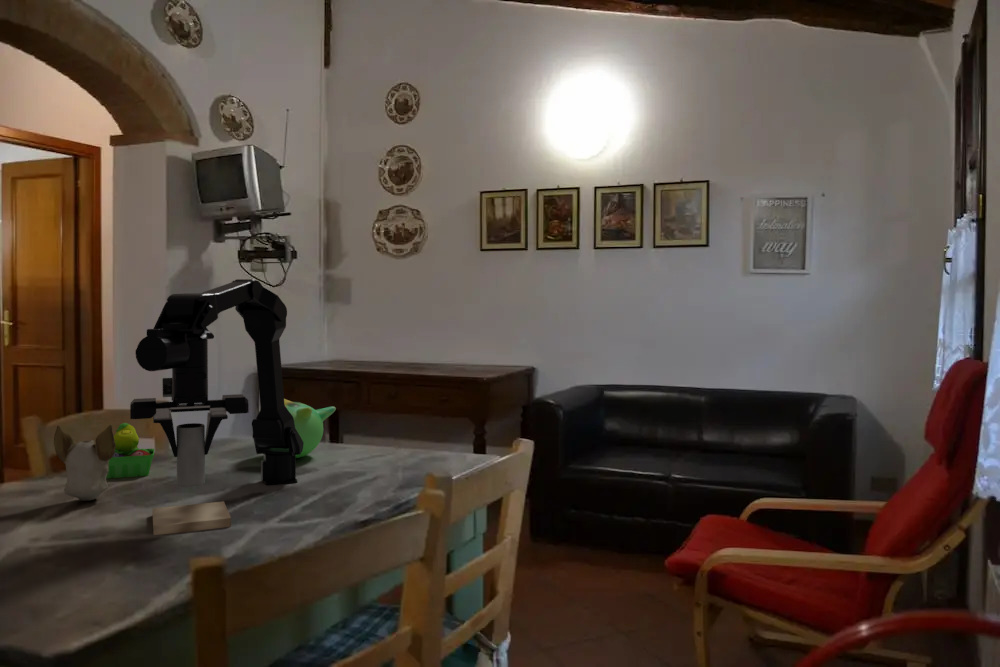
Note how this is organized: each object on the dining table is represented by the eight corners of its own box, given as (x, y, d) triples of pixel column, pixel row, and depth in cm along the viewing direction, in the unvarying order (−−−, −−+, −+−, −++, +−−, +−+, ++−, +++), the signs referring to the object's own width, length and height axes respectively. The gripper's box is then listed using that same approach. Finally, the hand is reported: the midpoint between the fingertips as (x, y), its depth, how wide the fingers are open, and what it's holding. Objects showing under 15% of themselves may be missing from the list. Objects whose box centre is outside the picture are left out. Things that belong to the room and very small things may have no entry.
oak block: (223, 512, 138) (223, 501, 138) (231, 529, 127) (230, 517, 127) (152, 519, 133) (152, 508, 133) (153, 538, 122) (153, 526, 122)
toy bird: (275, 450, 195) (275, 394, 194) (337, 452, 192) (337, 395, 192) (242, 464, 177) (242, 402, 176) (310, 467, 174) (310, 404, 174)
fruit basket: (94, 482, 158) (94, 429, 158) (98, 473, 166) (98, 423, 166) (154, 477, 163) (153, 426, 162) (155, 469, 171) (154, 420, 170)
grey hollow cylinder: (194, 487, 127) (194, 428, 127) (171, 486, 128) (170, 426, 128) (210, 481, 132) (209, 423, 131) (187, 480, 133) (186, 422, 132)
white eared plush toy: (125, 495, 147) (125, 420, 146) (110, 507, 138) (109, 427, 138) (67, 497, 145) (66, 420, 145) (48, 509, 137) (47, 428, 136)
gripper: (241, 361, 140) (241, 443, 141) (130, 364, 132) (131, 451, 133) (248, 366, 130) (249, 454, 131) (129, 369, 122) (130, 463, 123)
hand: (190, 455), depth 130 cm, fingers closed on grey hollow cylinder, 4 cm apart
